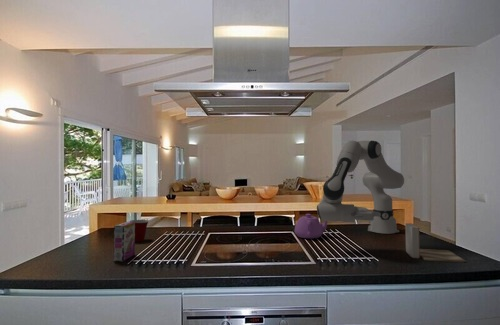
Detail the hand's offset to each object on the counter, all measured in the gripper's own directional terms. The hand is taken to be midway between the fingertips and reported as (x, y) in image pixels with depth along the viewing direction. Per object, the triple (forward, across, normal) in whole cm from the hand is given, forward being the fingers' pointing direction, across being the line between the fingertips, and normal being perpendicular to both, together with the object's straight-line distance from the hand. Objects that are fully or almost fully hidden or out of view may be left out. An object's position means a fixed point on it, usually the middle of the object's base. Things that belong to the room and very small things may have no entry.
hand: (379, 214), depth 140 cm
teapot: (-33, +28, +19) cm, 47 cm away
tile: (+14, 0, +19) cm, 24 cm away
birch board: (+25, 0, +19) cm, 31 cm away
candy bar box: (-120, -31, +20) cm, 125 cm away
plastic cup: (-133, 0, +20) cm, 134 cm away
